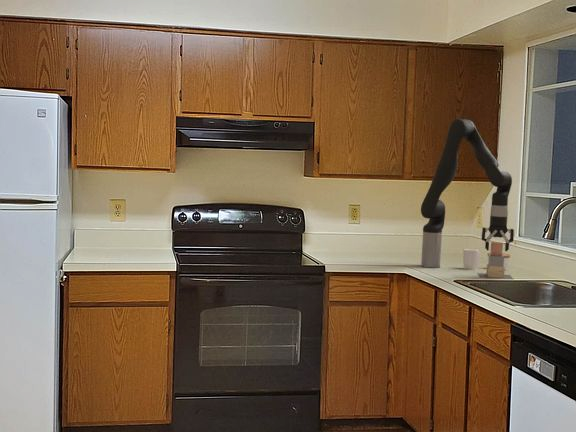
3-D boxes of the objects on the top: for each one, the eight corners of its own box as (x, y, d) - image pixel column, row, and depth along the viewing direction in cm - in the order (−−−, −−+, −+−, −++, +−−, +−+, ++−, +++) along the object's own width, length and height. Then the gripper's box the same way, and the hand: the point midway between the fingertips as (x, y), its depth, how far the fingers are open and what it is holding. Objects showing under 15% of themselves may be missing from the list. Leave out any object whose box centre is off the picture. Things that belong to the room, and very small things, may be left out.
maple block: (486, 274, 348) (487, 263, 347) (501, 275, 347) (502, 264, 346) (488, 276, 341) (488, 266, 340) (504, 277, 340) (504, 266, 339)
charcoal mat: (476, 274, 351) (476, 272, 351) (509, 276, 349) (509, 274, 349) (479, 279, 338) (480, 277, 338) (514, 281, 336) (514, 279, 336)
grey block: (488, 264, 347) (488, 254, 346) (501, 264, 346) (502, 255, 345) (489, 265, 341) (490, 256, 340) (503, 266, 340) (504, 256, 339)
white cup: (458, 268, 367) (460, 248, 366) (472, 268, 370) (473, 248, 369) (468, 271, 360) (469, 251, 359) (482, 271, 362) (483, 250, 361)
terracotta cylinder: (489, 254, 346) (490, 241, 345) (501, 255, 345) (502, 242, 344) (491, 256, 341) (491, 243, 340) (502, 256, 340) (503, 243, 339)
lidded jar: (511, 269, 372) (512, 250, 371) (506, 272, 362) (507, 253, 362) (490, 267, 377) (491, 248, 376) (484, 269, 368) (485, 250, 367)
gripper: (513, 215, 344) (511, 250, 345) (481, 213, 346) (479, 248, 347) (516, 216, 336) (514, 252, 338) (483, 215, 338) (481, 250, 340)
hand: (496, 250), depth 343 cm, fingers open, 8 cm apart
